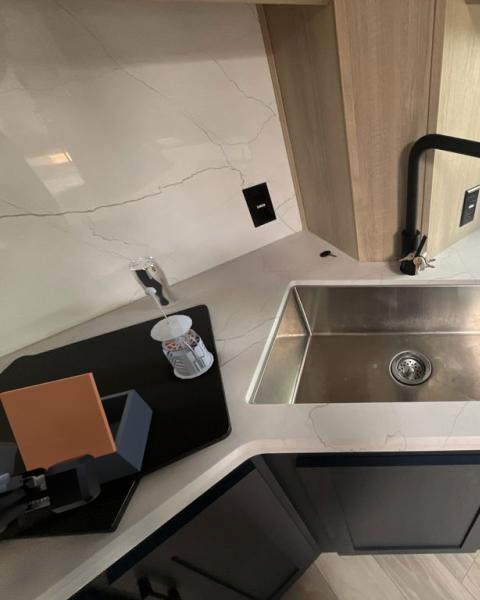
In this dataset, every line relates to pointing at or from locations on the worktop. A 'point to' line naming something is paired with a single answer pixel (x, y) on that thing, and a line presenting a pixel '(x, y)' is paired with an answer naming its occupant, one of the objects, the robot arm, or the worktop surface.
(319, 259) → the worktop surface
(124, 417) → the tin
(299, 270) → the worktop surface
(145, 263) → the beer glass
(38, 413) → the orange square plate
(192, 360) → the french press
